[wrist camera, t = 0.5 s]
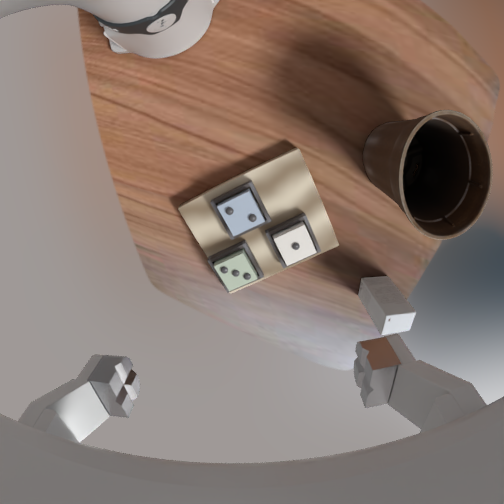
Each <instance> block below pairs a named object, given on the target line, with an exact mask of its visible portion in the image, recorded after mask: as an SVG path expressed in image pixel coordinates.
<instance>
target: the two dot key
mask: <svg viewBox="0 0 504 504" xmlns="http://www.w3.org/2000/svg"><path fill="white" fill-rule="evenodd" d="M217 208H218V210H219V211H220V213H221V215H222V217H223V219H224V220H225V222H226V224H227V226H228V227H229V229H230V231H231V233H232V235H233V236H236V235H238V234H240V233H242V232H244V231H246V230H248V229H251V228H253V227H255V226H257V225H259V224H261V223H263V222H265V220H264V217H263V215H262V213H261V211H260V209H259V207H258V205H257V203H256V201H255V199H254V197H253V195H252V193H251V191H250V189H249V188H248V189H246V190H244V191H242V192H240V193H238V194H236V195H234V196H232V197H230V198H228V199H226V200H224V201H222V202H220V203H218V206H217Z"/></svg>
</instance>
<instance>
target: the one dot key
mask: <svg viewBox="0 0 504 504" xmlns="http://www.w3.org/2000/svg"><path fill="white" fill-rule="evenodd" d="M273 239H274V241H275V243H276V245H277V247H278V249H279V251H280V253H281V255H282V257H283V259H284V261H285V263H286V265H287V266H288V265H291V264H293V263H295V262H297V261H299V260H302V259H304V258H306V257H308V256H311V255H313V254H315V253H317V252H316V250H315V247H314V245H313V243H312V240H311V238H310V236H309V233H308V231H307V229H306V227H305V224H304V223H303V221H301V222H299V223H296V224H294V225H292V226H290V227H288V228H286V229H283V230H281V231H279V232H277V233H275V234H273Z"/></svg>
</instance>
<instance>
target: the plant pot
mask: <svg viewBox="0 0 504 504" xmlns="http://www.w3.org/2000/svg"><path fill="white" fill-rule="evenodd" d="M405 156H406V157H405ZM417 163H418V164H419V166H418V170H417V172H416V174H415V176H413V173H414V171H415V168H416V164H417ZM363 164H364V166H365V169H366V172H367V176H368V178H369V179H370V181H371V182H372V183H373V184H374V185H375V186H376V187H377V188H379V189H380V190H381V191H383V192H384V193H385V194H386V195H388V196H389V197H390V198H391V199H392V200H394V201H395V202H396V203H397V204H398V205H399V207H400V208H401V209H402V211H403V212H404V213H405V214H406V216H407V217H408V219H409V221H410V222H411V223H412V225H413V226H414V227H415V228H416V229H417V230H418V231H419V232H421V233H422V234H424V235H426V236H427V237H430V238H433V239H439V240H445V239H451V238H454V237H457V236H459V235H461V234H462V233H464V232H466V231H467V230H468V229H469V228H470V227H471V226H472V225H473V224H474V223H475V222H476V220H477V219H478V218H479V217H480V215H481V213H482V212H483V210H484V207H485V205H486V203H487V200H488V197H489V194H490V190H491V185H492V159H491V154H490V150H489V146H488V144H487V141H486V139H485V137H484V135H483V133H482V131H481V130H480V129H479V127H478V126H477V125H476V124H475V123H474V122H473V121H472V120H471V119H470V118H469V117H467V116H466V115H464V114H462V113H460V112H457V111H453V110H441V111H436V112H433V113H431V114H428V115H427V116H422V117H419V118H417V119H413V120H404V121H396V122H388V123H385V124H382V125H380V126H378V127H377V128H375V129H374V130H373V131H372V133H371V134H370V135H369V137H368V139H367V141H366V143H365V146H364V151H363Z"/></svg>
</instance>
